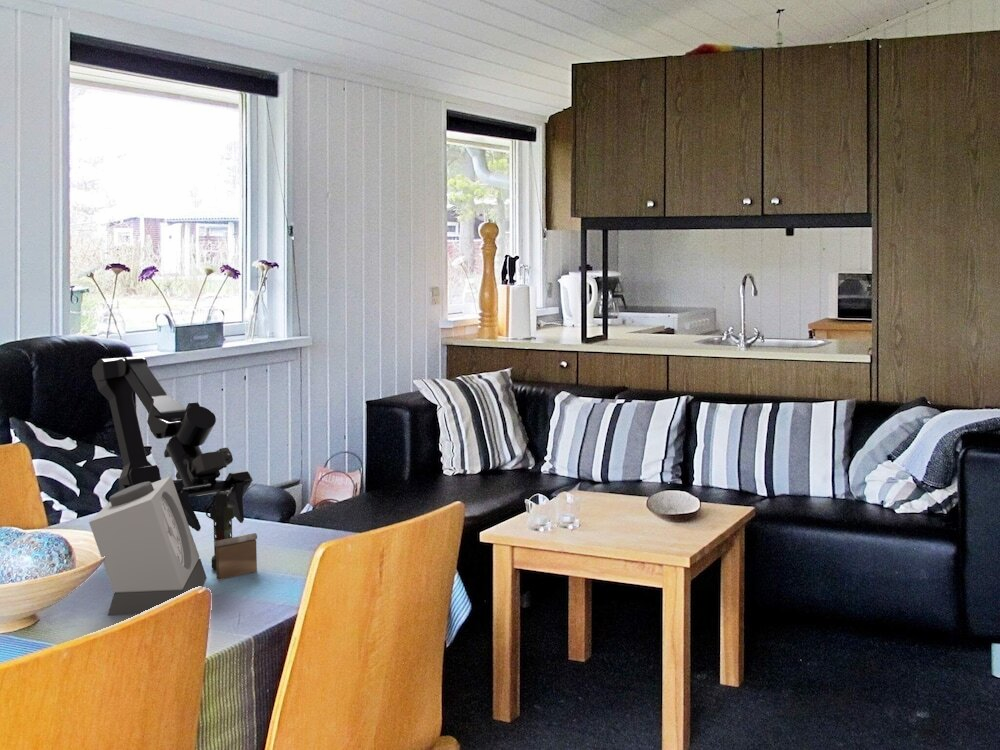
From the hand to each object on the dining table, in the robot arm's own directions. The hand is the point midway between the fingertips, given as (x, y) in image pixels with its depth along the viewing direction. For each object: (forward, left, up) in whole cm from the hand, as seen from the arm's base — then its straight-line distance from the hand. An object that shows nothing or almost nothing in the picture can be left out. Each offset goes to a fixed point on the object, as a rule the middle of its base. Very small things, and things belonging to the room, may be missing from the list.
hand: (221, 525), depth 214 cm
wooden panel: (+4, +2, -8) cm, 10 cm away
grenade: (0, 0, -9) cm, 9 cm away
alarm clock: (+14, -12, -9) cm, 20 cm away
